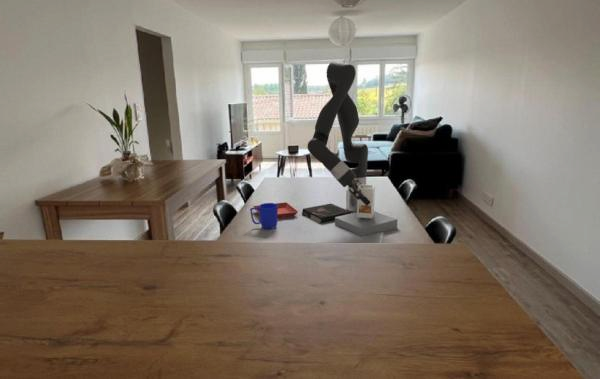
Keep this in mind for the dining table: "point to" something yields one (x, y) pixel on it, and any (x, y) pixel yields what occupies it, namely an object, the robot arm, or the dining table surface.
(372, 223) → the dock
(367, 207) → the block
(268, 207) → the mug
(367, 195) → the white hollow square box
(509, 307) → the dining table surface
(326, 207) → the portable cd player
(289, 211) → the plant saucer
